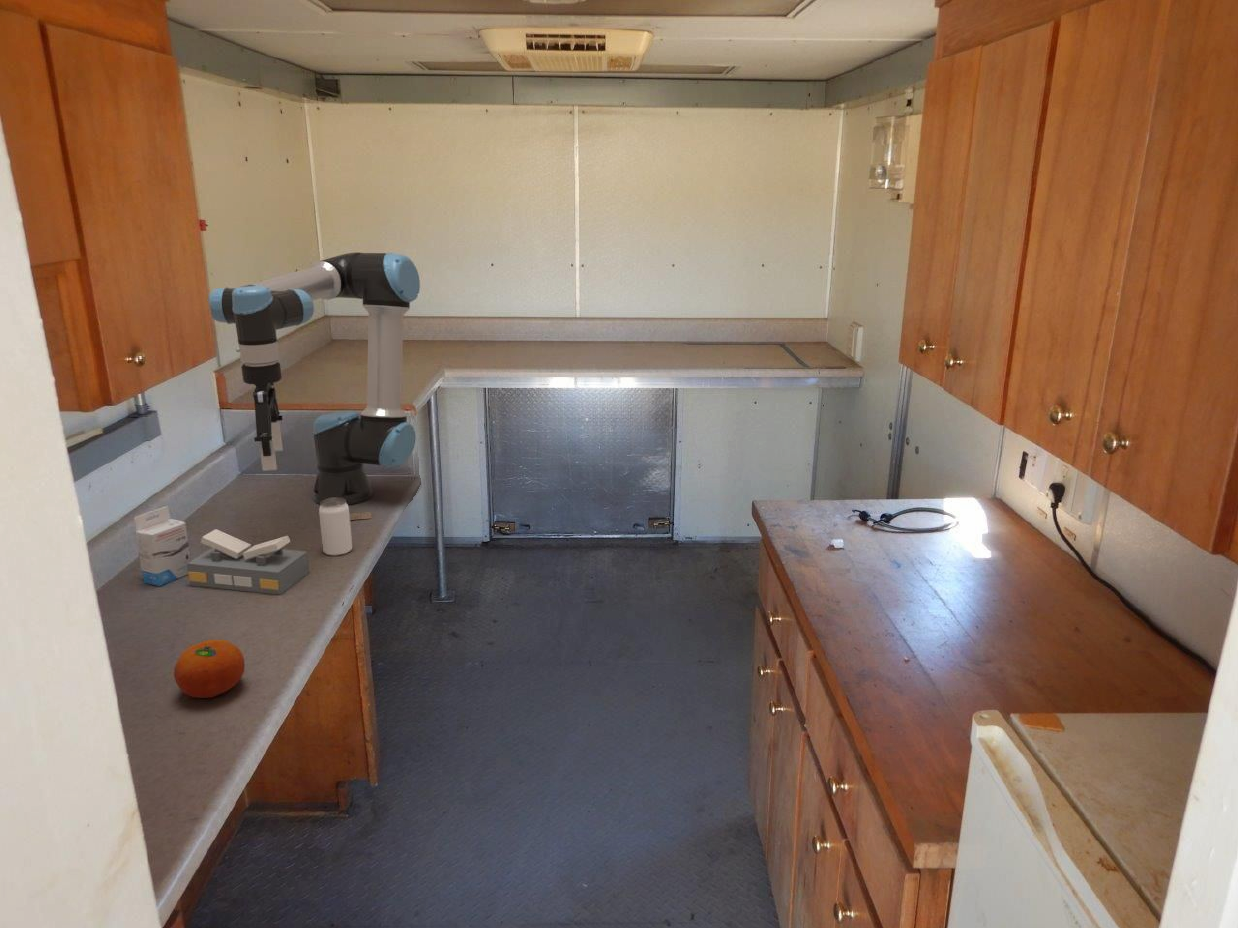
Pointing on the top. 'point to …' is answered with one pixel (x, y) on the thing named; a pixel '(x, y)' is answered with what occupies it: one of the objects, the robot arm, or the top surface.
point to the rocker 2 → (266, 548)
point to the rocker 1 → (225, 543)
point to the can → (335, 526)
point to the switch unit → (249, 571)
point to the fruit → (209, 668)
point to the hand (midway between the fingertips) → (273, 460)
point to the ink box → (162, 547)
